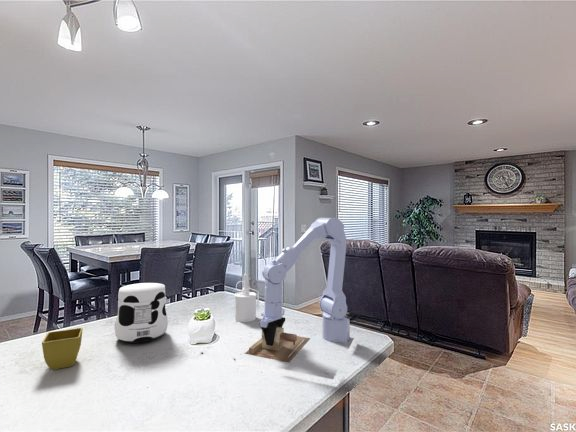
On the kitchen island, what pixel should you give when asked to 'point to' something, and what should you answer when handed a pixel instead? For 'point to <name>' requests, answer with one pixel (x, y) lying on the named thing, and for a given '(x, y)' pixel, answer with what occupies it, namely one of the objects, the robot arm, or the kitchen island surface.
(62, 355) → the flower pot
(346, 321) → the robot arm
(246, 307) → the white soap dispenser
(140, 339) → the milk container
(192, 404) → the kitchen island surface
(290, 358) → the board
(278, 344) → the mallet
